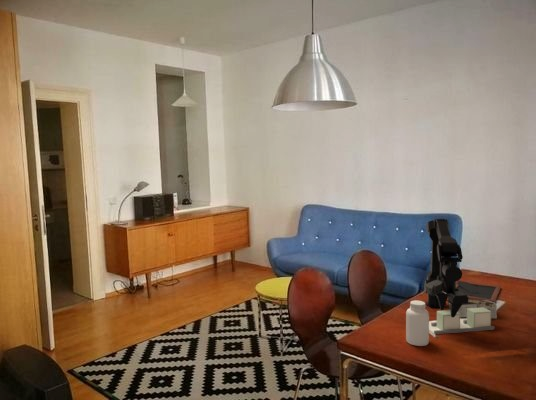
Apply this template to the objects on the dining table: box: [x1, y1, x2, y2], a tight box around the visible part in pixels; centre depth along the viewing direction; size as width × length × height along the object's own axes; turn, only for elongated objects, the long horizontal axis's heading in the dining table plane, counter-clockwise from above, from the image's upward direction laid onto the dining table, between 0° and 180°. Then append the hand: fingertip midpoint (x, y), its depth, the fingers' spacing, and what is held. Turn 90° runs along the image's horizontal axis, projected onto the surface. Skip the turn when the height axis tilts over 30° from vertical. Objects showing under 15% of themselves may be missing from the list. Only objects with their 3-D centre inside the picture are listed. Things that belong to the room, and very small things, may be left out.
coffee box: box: [448, 300, 498, 319], centre depth 176 cm, size 9×6×16 cm
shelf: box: [429, 317, 496, 339], centre depth 165 cm, size 12×24×3 cm, turn 97°
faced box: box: [466, 307, 492, 328], centre depth 164 cm, size 5×7×6 cm, turn 97°
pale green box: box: [436, 309, 461, 330], centre depth 162 cm, size 5×7×6 cm, turn 97°
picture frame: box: [455, 280, 501, 303], centre depth 208 cm, size 20×2×25 cm
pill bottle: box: [405, 300, 430, 347], centre depth 154 cm, size 8×8×15 cm
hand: (447, 313), depth 162 cm, fingers open, 7 cm apart
